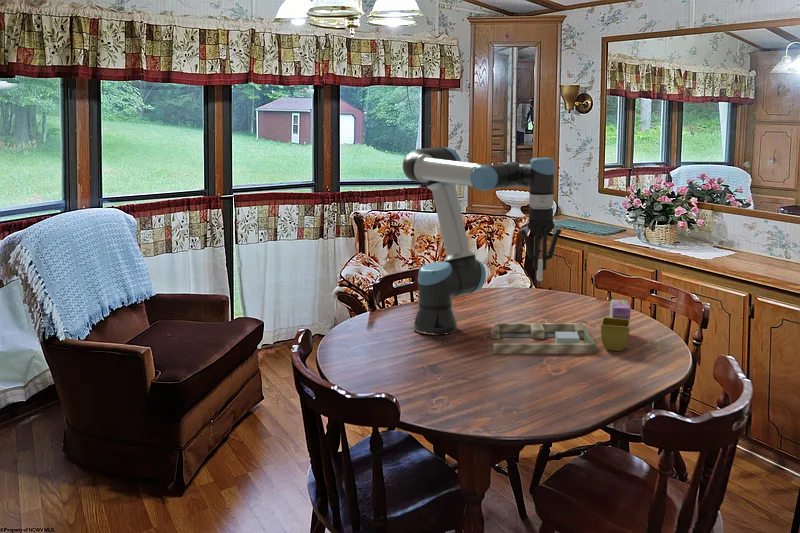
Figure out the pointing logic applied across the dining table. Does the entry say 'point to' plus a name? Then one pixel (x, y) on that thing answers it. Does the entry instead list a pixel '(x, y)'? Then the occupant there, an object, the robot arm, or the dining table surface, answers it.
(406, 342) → the dining table surface
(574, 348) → the box
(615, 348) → the flower pot
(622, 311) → the box
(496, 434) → the dining table surface
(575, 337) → the block
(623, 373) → the dining table surface
